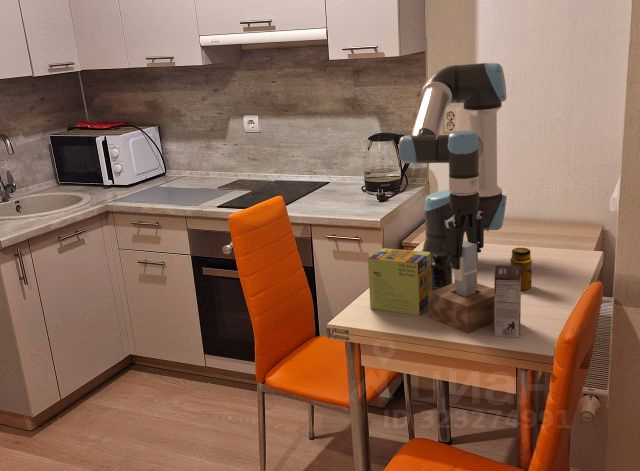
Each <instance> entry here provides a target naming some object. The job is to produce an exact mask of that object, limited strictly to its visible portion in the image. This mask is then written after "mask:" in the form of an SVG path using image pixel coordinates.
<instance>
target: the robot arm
mask: <svg viewBox="0 0 640 471" xmlns="http://www.w3.org/2000/svg"><path fill="white" fill-rule="evenodd" d="M420 100H421V104H420V107H419V108H418V111H417V116H416V117H415V118H416V119H415V122H414V124H413V128H412V130H411V131H412V132H411V134H410V135H409V134H408V135H405V136H401V137H400V139H399V142H398V156H399V159H400V161H401V163H404V164H413V165H416V164H437V163H438V164H448V188H449V189H447V190H441V191H437V192H433V193H431V194H429V195H427V196H426V197H425V199H424V209H423V211H424V224H425V225H424V226H425V227H424V228H425V239H424V243H423V247H422V250H421V251H422V252H431V253H430V254H431V262H432V261H433V260H432V253H433V252H436V251H445V252H446V255H447V256H448V257H449V259H448V261H450V262H451V264H452V270H453V274H454V276H453V278H454V279H456V280H459V281H464V261H463V257H461V253H462V245H463V241H464V236H465V233H466V238H467V242H471V243H475V244H477V263H478V261H479V260H478V258H479V254H480V253H482V249H483V248H484V246H485V244H484V243H485V242H484V241H485V240H484V239H485V233H484V232H485V231H487V232H490V231H499V230H502V228H503V226H504V219H505V213H506V206H507V199H508V196H507V195H505V194H503V189H502V188H501V187H500V186H499V185H498V132H497V131H498V130H497V129H498V128H497V127H498V125H497V122H498V120H497V117H498V116H497V113H498V112H499V110H500V109H502V107H503V106H502V105H503V104H502V102H505V101H506V100H507V85H506V78H505V73H504V68H503V66H502V65H501V64H500V63H496V62H483V63H482V62H481V63H468V64H456V65H454V64H453V65H449V66H446V67H443V68H441V69H439V70H437V71H436V72H435V73H434V74H433V75H431V76H430V77H429V78H428V79H427V81H425V83H424V84H423V87H422V88H421V92H420ZM451 104H463V110H464V111H465V112H467V114H468V130H459V131H458V130H457V131H454V132H450V134H440V132H441V128H442V124H443V121H444V117H445V113H446V110H447V108H448V107H449V105H451ZM456 252H457V253H456ZM454 279H453V280H454Z"/></svg>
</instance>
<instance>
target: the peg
mask: <svg viewBox="0 0 640 471" xmlns="http://www.w3.org/2000/svg"><path fill="white" fill-rule="evenodd" d="M456 253H457V252H456ZM461 257H463V261H464V281H459V280H456V279H453V283H454V284H455V287H456V294H458V295H461V296H464V297H468V296H471V295H474V294H476V287H477V283H478V262H477V244H475V243H471V242H468V240H467V241H466V240H463V245H462V253H461Z"/></svg>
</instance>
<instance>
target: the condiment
mask: <svg viewBox="0 0 640 471" xmlns="http://www.w3.org/2000/svg"><path fill="white" fill-rule="evenodd" d="M531 257H532V256H531V250H530V249H529V248H526V247H515V248H513V249H512V250H511V258H510V265H509V266H520V268H521V295H523V294H525V293H527V292H531V291H534V290H536V289H538V288H539V287H537V286H534V285H532V277H533V276H532V273H533V272H532V270H533V269H532V265H533V264H532V262H533V261H532V258H531Z"/></svg>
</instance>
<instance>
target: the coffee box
mask: <svg viewBox="0 0 640 471" xmlns="http://www.w3.org/2000/svg"><path fill="white" fill-rule="evenodd" d="M493 282H494V284H493V286H494V287H493V288H494V302H495V303H494V306H495V322H494V337H503V338H520V337H521V317H522V316H521V305H522V304H521V303H522V302H521V299H522V298H521V296H522V294H521V268H520V266H510V265H504V264H503V265H501V264H500V265H495V268H494V281H493Z"/></svg>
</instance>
